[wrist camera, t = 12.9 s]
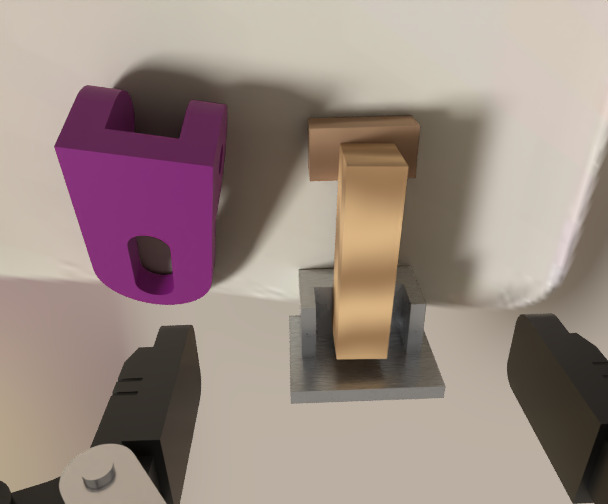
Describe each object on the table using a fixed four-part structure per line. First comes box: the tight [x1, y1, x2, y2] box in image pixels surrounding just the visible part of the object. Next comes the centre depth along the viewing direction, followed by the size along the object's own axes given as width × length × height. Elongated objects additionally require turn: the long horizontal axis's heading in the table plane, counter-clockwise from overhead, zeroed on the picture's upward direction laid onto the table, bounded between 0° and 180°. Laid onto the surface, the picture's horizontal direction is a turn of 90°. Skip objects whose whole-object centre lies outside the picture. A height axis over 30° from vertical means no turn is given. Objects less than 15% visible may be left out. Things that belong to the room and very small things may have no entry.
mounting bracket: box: [54, 85, 227, 305], centre depth 42 cm, size 10×8×18 cm
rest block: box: [308, 115, 420, 181], centre depth 40 cm, size 4×8×3 cm, turn 91°
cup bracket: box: [289, 266, 445, 404], centre depth 44 cm, size 6×12×10 cm, turn 91°
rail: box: [332, 143, 409, 359], centre depth 40 cm, size 16×4×5 cm, turn 179°
